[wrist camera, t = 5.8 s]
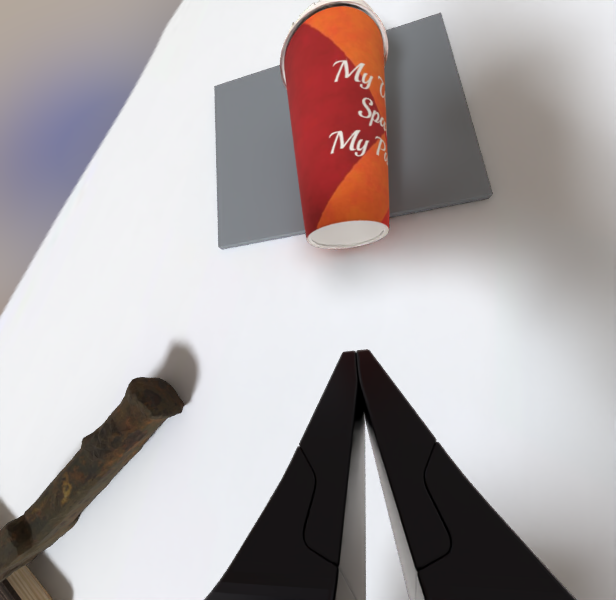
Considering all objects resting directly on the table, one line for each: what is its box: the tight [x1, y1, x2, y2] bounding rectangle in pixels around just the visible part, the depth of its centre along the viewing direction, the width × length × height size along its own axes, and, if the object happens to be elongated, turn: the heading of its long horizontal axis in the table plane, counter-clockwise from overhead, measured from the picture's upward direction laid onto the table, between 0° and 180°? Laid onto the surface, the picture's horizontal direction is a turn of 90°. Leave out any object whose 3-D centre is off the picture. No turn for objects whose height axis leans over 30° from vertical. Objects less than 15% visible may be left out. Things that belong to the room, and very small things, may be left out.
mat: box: [214, 13, 493, 249], centre depth 23 cm, size 18×22×1 cm
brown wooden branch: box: [0, 377, 184, 583], centre depth 20 cm, size 19×4×5 cm, turn 135°
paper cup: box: [280, 0, 389, 249], centre depth 18 cm, size 8×8×14 cm
